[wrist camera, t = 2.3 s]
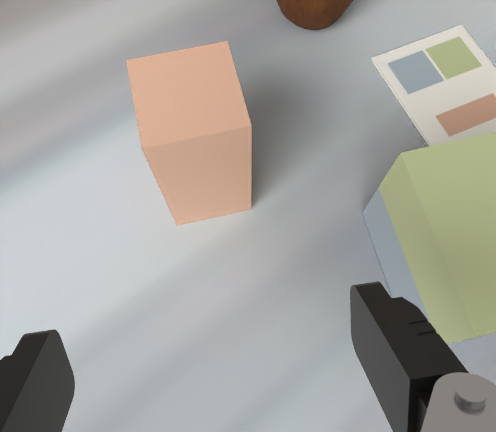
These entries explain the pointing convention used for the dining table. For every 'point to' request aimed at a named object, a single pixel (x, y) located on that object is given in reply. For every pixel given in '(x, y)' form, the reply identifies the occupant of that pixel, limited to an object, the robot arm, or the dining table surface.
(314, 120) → the dining table surface
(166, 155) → the brick
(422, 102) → the page
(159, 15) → the dining table surface
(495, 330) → the pedestal
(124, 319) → the dining table surface
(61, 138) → the dining table surface
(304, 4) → the wooden figurine
